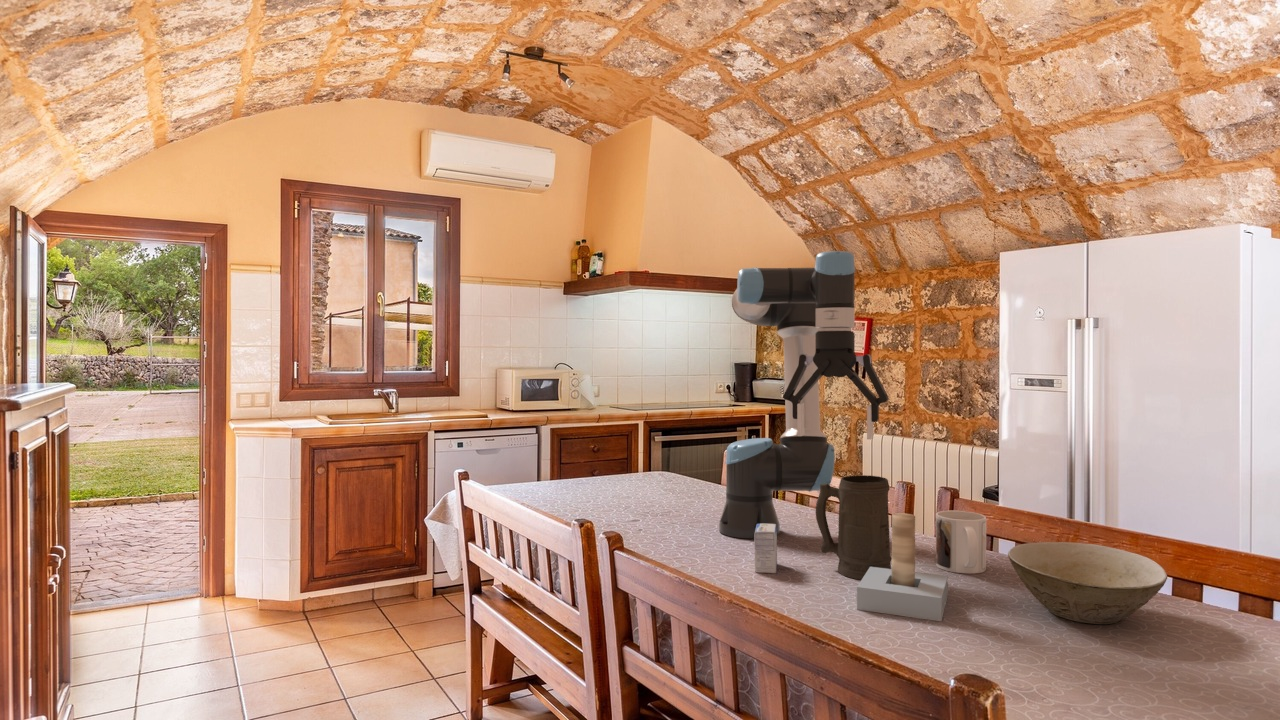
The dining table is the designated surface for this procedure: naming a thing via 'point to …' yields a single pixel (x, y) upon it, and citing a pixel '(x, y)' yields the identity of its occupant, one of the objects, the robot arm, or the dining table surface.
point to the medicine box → (765, 548)
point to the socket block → (903, 595)
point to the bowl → (1087, 579)
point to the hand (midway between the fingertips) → (834, 437)
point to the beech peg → (903, 549)
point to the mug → (961, 541)
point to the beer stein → (857, 524)
